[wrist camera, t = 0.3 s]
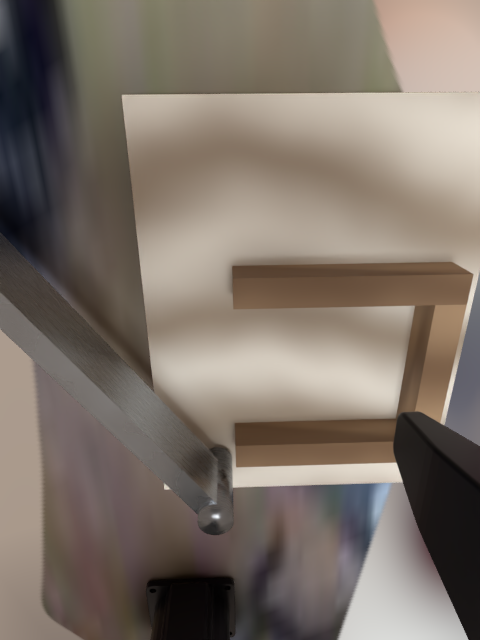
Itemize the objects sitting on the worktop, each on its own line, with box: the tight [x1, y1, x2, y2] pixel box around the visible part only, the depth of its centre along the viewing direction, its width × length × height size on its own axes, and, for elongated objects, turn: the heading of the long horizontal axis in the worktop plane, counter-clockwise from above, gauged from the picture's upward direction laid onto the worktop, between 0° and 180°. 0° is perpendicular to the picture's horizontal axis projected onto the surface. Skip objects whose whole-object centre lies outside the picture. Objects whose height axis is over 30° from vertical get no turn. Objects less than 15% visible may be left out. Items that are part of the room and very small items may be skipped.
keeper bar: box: [0, 233, 233, 535], centre depth 20 cm, size 21×2×4 cm, turn 35°
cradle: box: [122, 92, 480, 490], centre depth 22 cm, size 22×17×3 cm
